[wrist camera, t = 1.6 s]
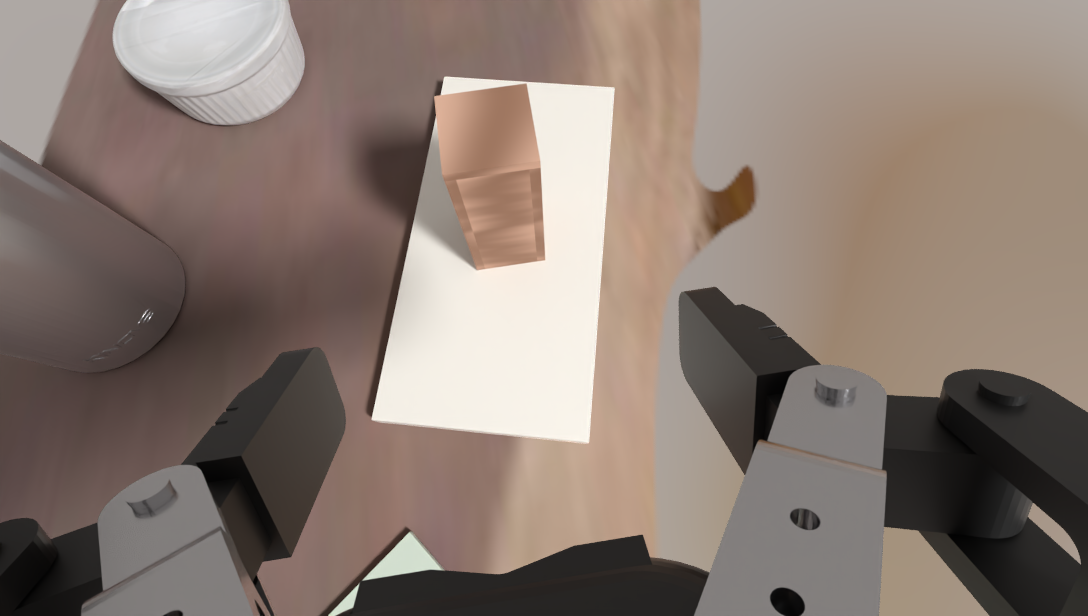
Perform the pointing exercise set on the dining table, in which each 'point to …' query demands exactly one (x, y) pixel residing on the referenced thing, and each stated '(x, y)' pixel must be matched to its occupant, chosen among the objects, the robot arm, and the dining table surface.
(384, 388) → the hook board
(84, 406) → the dining table surface
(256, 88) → the ramekin
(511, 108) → the tan recessed-panel box
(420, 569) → the mat
